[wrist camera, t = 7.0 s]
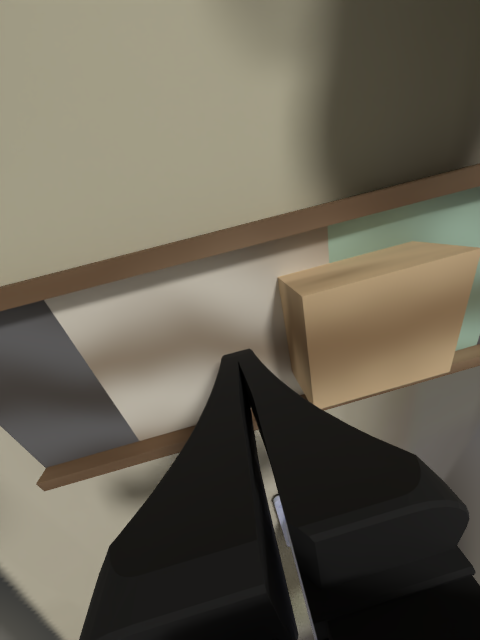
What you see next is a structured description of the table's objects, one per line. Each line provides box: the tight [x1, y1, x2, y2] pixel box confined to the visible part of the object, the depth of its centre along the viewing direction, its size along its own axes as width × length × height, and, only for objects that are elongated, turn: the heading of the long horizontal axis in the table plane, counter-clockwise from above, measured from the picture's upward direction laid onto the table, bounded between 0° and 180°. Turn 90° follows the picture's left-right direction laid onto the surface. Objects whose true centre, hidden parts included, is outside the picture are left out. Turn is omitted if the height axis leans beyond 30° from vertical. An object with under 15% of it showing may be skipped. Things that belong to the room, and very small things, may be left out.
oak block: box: [278, 241, 480, 409], centre depth 11 cm, size 6×7×3 cm
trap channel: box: [0, 164, 480, 491], centre depth 12 cm, size 12×34×1 cm, turn 103°
